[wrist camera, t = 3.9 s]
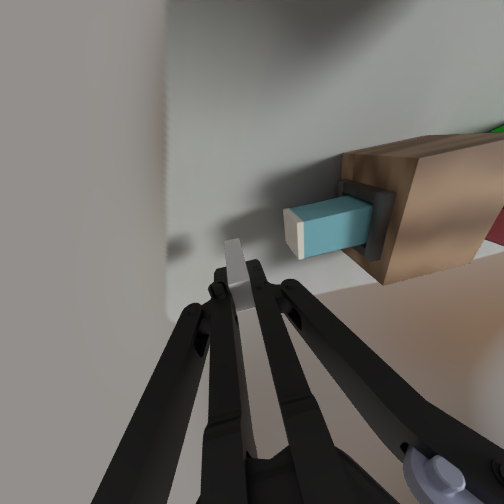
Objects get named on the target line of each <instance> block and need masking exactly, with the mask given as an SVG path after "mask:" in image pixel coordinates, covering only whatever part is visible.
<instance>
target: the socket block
mask: <svg viewBox="0 0 504 504" xmlns="http://www.w3.org/2000/svg"><path fill="white" fill-rule="evenodd" d="M347 195H353V196H355V197H358V198H361V199H363V200H366V201H369V202H371V203H374V207H373V212H372V217H371V222H370V228H369V233H368V238H367V243H365V244H360V245H356V246H352V247H348V248H344V249H340V250H342V251H343V252H344V253H345V254H346V255H348V256H349V257H350V258H351V259H352V260H353V261H355V262H356V263H357V264H358V265H359V266H360V267H362V268H363V269H364V270H365V271H366V272H367V273H369V274H370V275H371V276H372V277H373V278H375V279H376V280H377V281H378V282H379V283H380V284H382V285H383V286H384V285H388V284H391V283H396V282H399V281H403V280H407V279H411V278H415V277H419V276H423V275H427V274H431V273H435V272H438V271H443V270H447V269H451V268H455V267H458V266H462V265H466V264H470V263H471V262H472V260H473V258H474V256H475V255H476V253H477V251H478V250H479V248H480V246H481V244H482V243H483V241H484V239H485V237H486V236H487V234H488V232H489V230H490V229H491V227H492V225H493V223H494V222H495V220H496V218H497V217H498V215H499V213H500V211H501V210H502V208H503V206H504V132H499V133H475V134H451V135H427V136H421V137H417V138H412V139H407V140H403V141H398V142H393V143H388V144H384V145H379V146H374V147H369V148H365V149H360V150H355V151H350V152H346V153H343V160H342V172H341V180H340V181H338V191H337V198H338V197H343V196H347Z"/></svg>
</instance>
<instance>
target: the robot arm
mask: <svg viewBox="0 0 504 504" xmlns="http://www.w3.org/2000/svg"><path fill="white" fill-rule="evenodd" d="M224 244H225V256H226V267H223V268H219V269H216V271H215V272H214V282H213V283H212V284H210V286H209V287H208V291H209V293H210V296H211V299H210V300H209V301H208V302H206V303H205V304H203V305H200V304H199V303H192V304H190V305H188V306H186V307H185V308H184V310H183V311H182V313H181V315H180V317H179V319H178V322H177V324H176V326H175V328H174V330H173V332H172V334H171V336H170V338H169V340H168V343H167V345H166V347H165V349H164V351H163V353H162V355H161V357H160V360H159V361H158V364H157V366H156V368H155V370H154V372H153V374H152V376H151V379H150V381H149V383H148V385H147V387H146V389H145V391H144V393H143V395H142V397H141V399H140V401H139V404H138V406H137V408H136V410H135V412H134V414H133V416H132V418H131V421H130V423H129V425H128V427H127V429H126V431H125V433H124V435H123V437H122V439H121V441H120V443H119V446H118V448H117V450H116V452H115V454H114V456H113V458H112V460H111V462H110V465H109V467H108V469H107V471H106V473H105V475H104V477H103V479H102V482H101V483H100V486H99V488H98V490H97V492H96V494H95V496H94V498H93V500H92V502H91V504H167V500H168V497H169V494H170V490H171V487H172V482H173V479H174V475H175V472H176V468H177V464H178V460H179V456H180V453H181V449H182V446H183V442H184V438H185V434H186V431H187V427H188V423H189V420H190V416H191V412H192V408H193V405H194V401H195V397H196V393H197V390H198V386H199V382H200V379H201V375H202V371H203V367H204V364H205V360H206V356H207V353H208V349H209V345H210V372H209V410H208V411H209V412H208V424H207V426H206V428H205V430H204V435H203V447H202V471H201V495H200V497H199V498H198V500H197V502H196V504H400V503H399V502H398V501H397V500H396V499H394V498H393V497H392V496H391V495H390V494H389V493H388V492H387V491H386V490H385V489H384V488H383V487H382V486H381V485H380V484H379V483H377V482H376V481H375V480H374V479H373V478H372V477H371V476H370V475H369V474H368V473H367V472H366V471H365V470H364V469H363V468H362V467H361V466H360V465H359V464H358V463H356V462H355V461H354V460H353V459H352V458H351V457H350V456H349V455H347V454H346V453H345V452H344V451H342V450H340V449H339V448H337V447H335V446H334V443H333V441H332V438H331V436H330V433H329V430H328V428H327V425H326V423H325V420H324V418H323V415H322V413H321V410H320V408H319V405H318V403H317V401H316V399H315V397H314V396H313V395H312V393H311V391H310V388H309V386H308V383H307V381H306V378H305V375H304V373H303V370H302V368H301V365H300V362H299V360H298V357H297V355H296V352H295V349H294V347H293V344H292V342H291V339H290V336H289V334H288V331H287V328H286V326H285V323H284V321H283V318H282V315H281V313H284V314H285V315H286V317H287V318H288V320H289V321H290V322H291V323H292V325H293V326H294V327H295V329H296V330H297V331H298V333H299V334H300V335H301V336H302V338H303V339H304V341H305V342H306V343H307V344H308V346H309V347H310V348H311V350H312V351H313V352H314V354H315V355H316V356H317V358H318V359H319V360H320V361H321V363H322V364H323V365H324V367H325V368H326V369H327V371H328V372H329V373H330V375H331V376H332V377H333V379H334V380H335V381H336V383H337V384H338V385H339V386H340V388H341V389H342V390H343V392H344V393H345V394H346V396H347V397H348V398H349V400H350V401H351V402H352V404H353V405H354V406H355V408H356V409H357V410H358V411H359V413H360V414H361V415H362V417H363V418H364V419H365V421H366V422H367V423H368V425H369V426H370V427H371V428H372V430H373V431H374V432H375V433H376V435H377V436H378V437H379V438H380V440H381V441H382V442H383V443H384V444H385V445H386V446H387V447H388V449H389V450H391V452H392V453H393V454H394V455H395V456H396V457H397V458H398V459H399V460H400V461H401V462H402V463H403V473H404V477H405V480H406V482H407V485H408V487H409V488H410V490H411V492H412V494H413V495H414V496H415V498H416V499H417V500H418V501H419V503H420V504H504V449H502V448H500V447H499V446H497V445H496V444H494V443H492V442H491V441H489V440H487V439H486V438H485V437H483V436H481V435H480V434H478V433H477V432H475V431H473V430H472V429H470V428H469V427H467V426H466V425H464V424H462V423H461V422H459V421H458V420H456V419H455V418H453V417H451V416H450V415H448V414H446V413H445V412H443V411H442V410H440V409H439V408H437V407H436V406H434V405H432V404H431V403H429V402H428V401H426V400H425V399H424V398H423V397H422V396H420V394H419V393H418V392H416V391H415V390H414V389H413V388H412V387H411V386H410V385H409V384H408V383H407V382H406V381H405V380H404V379H403V378H402V377H400V376H399V375H398V374H397V373H396V372H395V371H394V370H393V369H392V368H391V367H390V366H388V365H387V363H385V362H384V361H383V360H382V359H381V358H380V357H379V356H378V355H377V354H376V353H375V352H374V351H373V350H371V349H370V348H369V347H368V346H367V345H366V344H365V343H364V342H363V341H362V340H361V339H360V338H359V337H358V336H356V335H355V334H354V333H353V332H352V331H351V330H350V329H349V328H348V327H347V326H346V325H345V324H344V323H343V322H341V321H340V320H339V319H338V318H337V317H336V316H335V315H334V314H333V313H332V312H331V311H330V310H329V309H327V308H326V307H325V306H324V305H323V304H322V303H321V302H320V301H319V300H318V299H317V298H316V297H315V296H314V295H312V294H311V293H310V292H309V291H308V290H307V289H306V288H305V287H304V286H303V285H302V284H301V283H300V282H299V281H297V280H295V279H286V280H284V281H283V282H282V283H281V285H276V284H271V283H269V282H268V281H267V279H266V277H265V274H264V271H263V269H262V266H261V264H260V261H258V260H257V259H254V260H250V261H246V262H245V259H244V255H243V251H242V247H241V243H240V239H239V238H236V239H231V240H227V241H224ZM253 307H256V311H257V315H258V319H259V323H260V327H261V331H262V336H263V340H264V343H265V348H266V352H267V356H268V360H269V364H270V368H271V373H272V377H273V381H274V385H275V389H276V393H277V397H278V402H279V405H280V409H281V414H282V418H283V422H284V426H285V431H286V434H287V439H288V443H289V445H288V446H287V447H286V448H285V449H283V450H282V451H281V452H279V453H278V454H277V455H275V456H274V457H273V458H271V459H269V460H268V459H258V457H257V450H256V445H255V441H254V436H253V430H252V422H251V415H250V408H249V400H248V392H247V384H246V377H245V369H244V362H243V354H242V346H241V339H240V331H239V323H238V317H237V314H236V311H237V312H238V311H242V310H245V309H249V308H253Z"/></svg>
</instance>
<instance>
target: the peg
mask: <svg viewBox="0 0 504 504" xmlns="http://www.w3.org/2000/svg"><path fill="white" fill-rule="evenodd" d="M373 207H374V203H371V202H369V201H366V200H363V199H361V198H358V197H355V196H353V195H347V196H343V197H338V198H334V199H329V200H325V201H320V202H316V203H312V204H307V205H303V206H298V207H294V208H287V209H283V215H284V227H285V240H286V243H287V244H288V246H289V247H290V249H291V250H292V251H293V253H294V254H295V256H296V257H297V259H298V260H301V259H304V258H306V257H310V256H315V255H319V254H323V253H327V252H331V251H335V250H340V249H344V248H348V247H352V246H356V245H360V244H365V243H367V238H368V233H369V228H370V222H371V217H372V212H373Z"/></svg>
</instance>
